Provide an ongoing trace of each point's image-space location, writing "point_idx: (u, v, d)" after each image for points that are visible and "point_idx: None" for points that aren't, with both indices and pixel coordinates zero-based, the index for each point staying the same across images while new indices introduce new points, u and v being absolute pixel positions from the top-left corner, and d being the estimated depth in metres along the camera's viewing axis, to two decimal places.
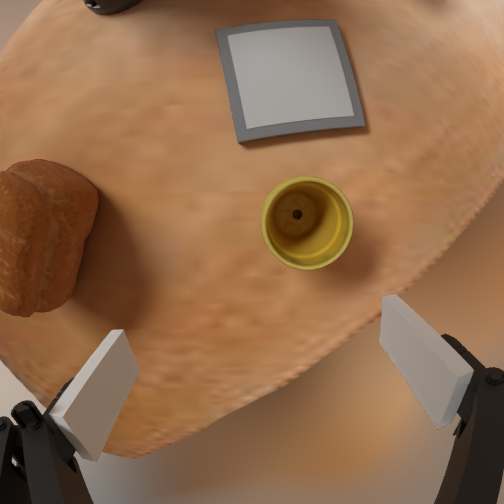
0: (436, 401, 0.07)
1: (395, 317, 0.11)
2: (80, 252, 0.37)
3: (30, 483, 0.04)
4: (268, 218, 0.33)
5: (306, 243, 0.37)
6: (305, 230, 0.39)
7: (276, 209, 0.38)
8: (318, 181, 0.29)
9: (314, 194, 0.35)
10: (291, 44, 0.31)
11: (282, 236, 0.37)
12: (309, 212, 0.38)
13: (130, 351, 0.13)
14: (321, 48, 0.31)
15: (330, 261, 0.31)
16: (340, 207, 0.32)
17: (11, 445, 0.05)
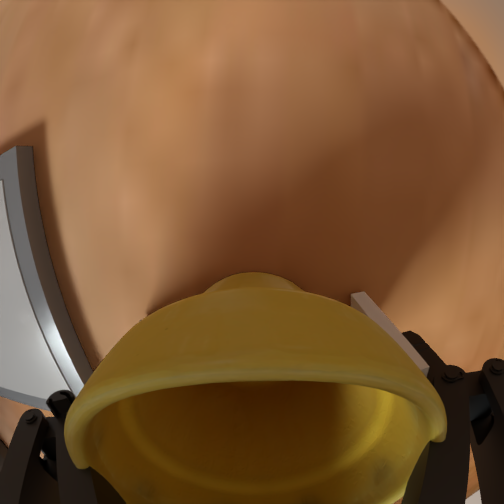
0: None
1: None
2: None
3: (60, 475, 0.04)
4: (243, 487, 0.09)
5: None
6: None
7: (239, 382, 0.14)
8: (79, 458, 0.05)
9: None
10: None
11: (308, 397, 0.12)
12: None
13: None
14: None
15: (439, 430, 0.04)
16: None
17: (40, 439, 0.06)
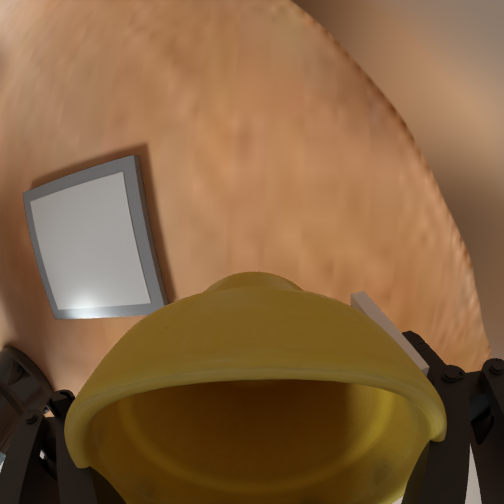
0: None
1: None
2: None
3: (60, 475, 0.04)
4: (243, 487, 0.09)
5: None
6: None
7: (239, 381, 0.14)
8: (80, 457, 0.05)
9: None
10: (55, 246, 0.29)
11: (308, 397, 0.12)
12: None
13: None
14: (53, 212, 0.28)
15: (439, 430, 0.04)
16: None
17: (40, 439, 0.06)
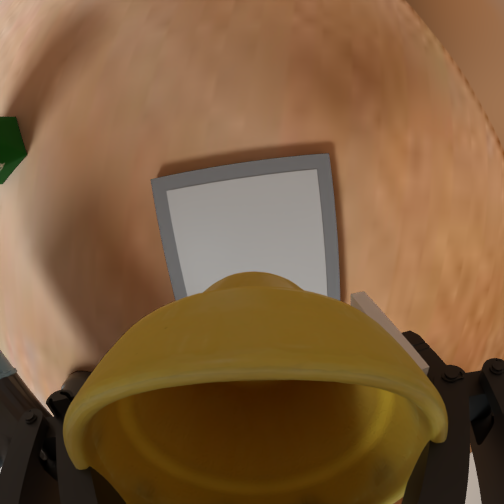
0: None
1: None
2: None
3: (60, 475, 0.04)
4: (243, 487, 0.09)
5: None
6: None
7: (239, 381, 0.14)
8: (78, 458, 0.05)
9: None
10: (206, 249, 0.29)
11: (308, 397, 0.12)
12: None
13: None
14: (209, 206, 0.28)
15: (440, 430, 0.04)
16: None
17: (40, 439, 0.06)
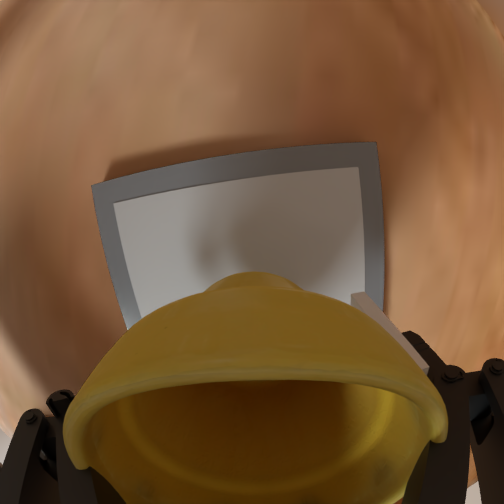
0: None
1: None
2: None
3: (60, 475, 0.04)
4: (243, 487, 0.09)
5: None
6: None
7: (239, 381, 0.14)
8: (78, 458, 0.05)
9: None
10: (178, 295, 0.18)
11: (308, 397, 0.12)
12: None
13: None
14: (180, 228, 0.16)
15: (440, 430, 0.04)
16: None
17: (40, 439, 0.06)
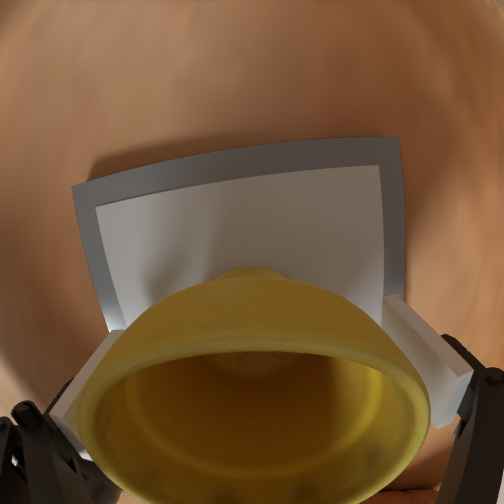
0: (436, 401, 0.07)
1: (395, 317, 0.11)
2: (417, 500, 0.22)
3: (30, 483, 0.04)
4: (242, 472, 0.10)
5: None
6: None
7: (238, 372, 0.15)
8: (89, 437, 0.06)
9: None
10: None
11: (304, 386, 0.13)
12: None
13: None
14: (171, 236, 0.14)
15: (423, 410, 0.05)
16: None
17: (11, 445, 0.05)
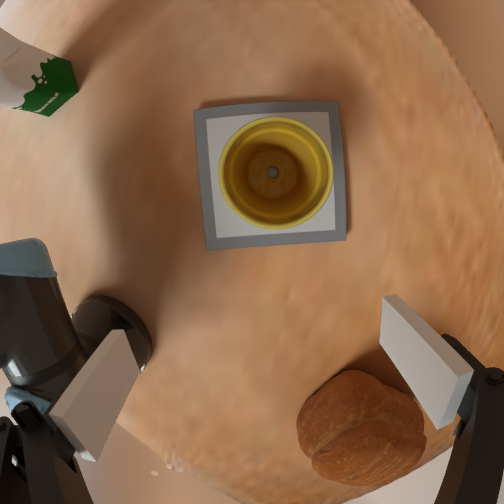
0: (436, 401, 0.07)
1: (395, 317, 0.11)
2: (391, 389, 0.40)
3: (30, 483, 0.04)
4: (267, 215, 0.28)
5: (305, 168, 0.30)
6: (292, 164, 0.32)
7: (264, 195, 0.33)
8: (224, 157, 0.24)
9: (248, 153, 0.29)
10: None
11: (295, 194, 0.31)
12: (272, 157, 0.32)
13: (130, 351, 0.13)
14: None
15: (325, 150, 0.23)
16: (261, 128, 0.25)
17: (11, 445, 0.05)
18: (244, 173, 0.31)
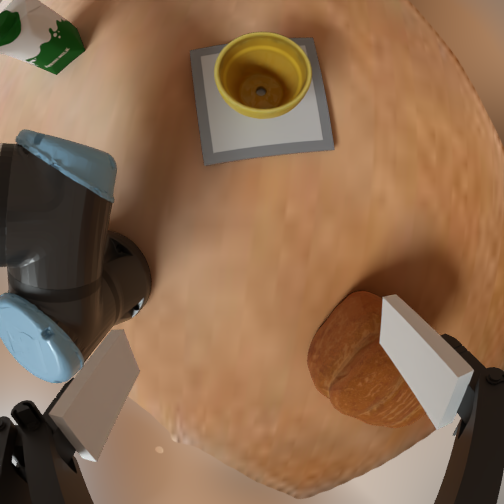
0: (436, 401, 0.07)
1: (395, 317, 0.11)
2: None
3: (30, 483, 0.04)
4: None
5: (289, 81, 0.31)
6: (278, 84, 0.33)
7: None
8: (219, 61, 0.25)
9: (238, 72, 0.30)
10: None
11: (282, 103, 0.32)
12: (259, 80, 0.33)
13: (130, 351, 0.13)
14: None
15: (302, 52, 0.24)
16: (249, 45, 0.26)
17: (11, 445, 0.05)
18: (236, 91, 0.32)
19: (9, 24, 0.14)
